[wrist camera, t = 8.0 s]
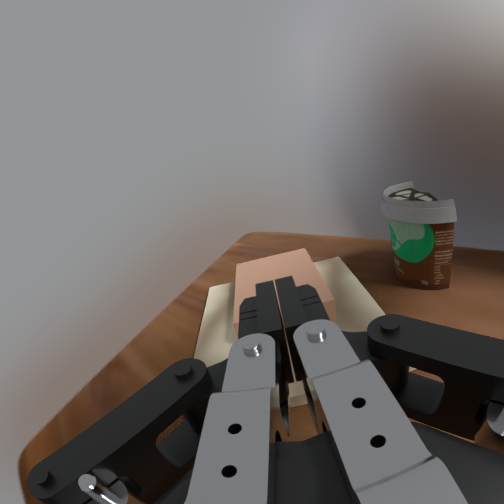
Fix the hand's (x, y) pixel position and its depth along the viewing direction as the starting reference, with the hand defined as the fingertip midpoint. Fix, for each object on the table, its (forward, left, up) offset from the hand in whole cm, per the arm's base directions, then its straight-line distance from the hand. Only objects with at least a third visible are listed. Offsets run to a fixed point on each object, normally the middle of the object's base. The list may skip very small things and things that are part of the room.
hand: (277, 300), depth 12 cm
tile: (0, -11, -9) cm, 14 cm away
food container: (-16, -18, -12) cm, 27 cm away
